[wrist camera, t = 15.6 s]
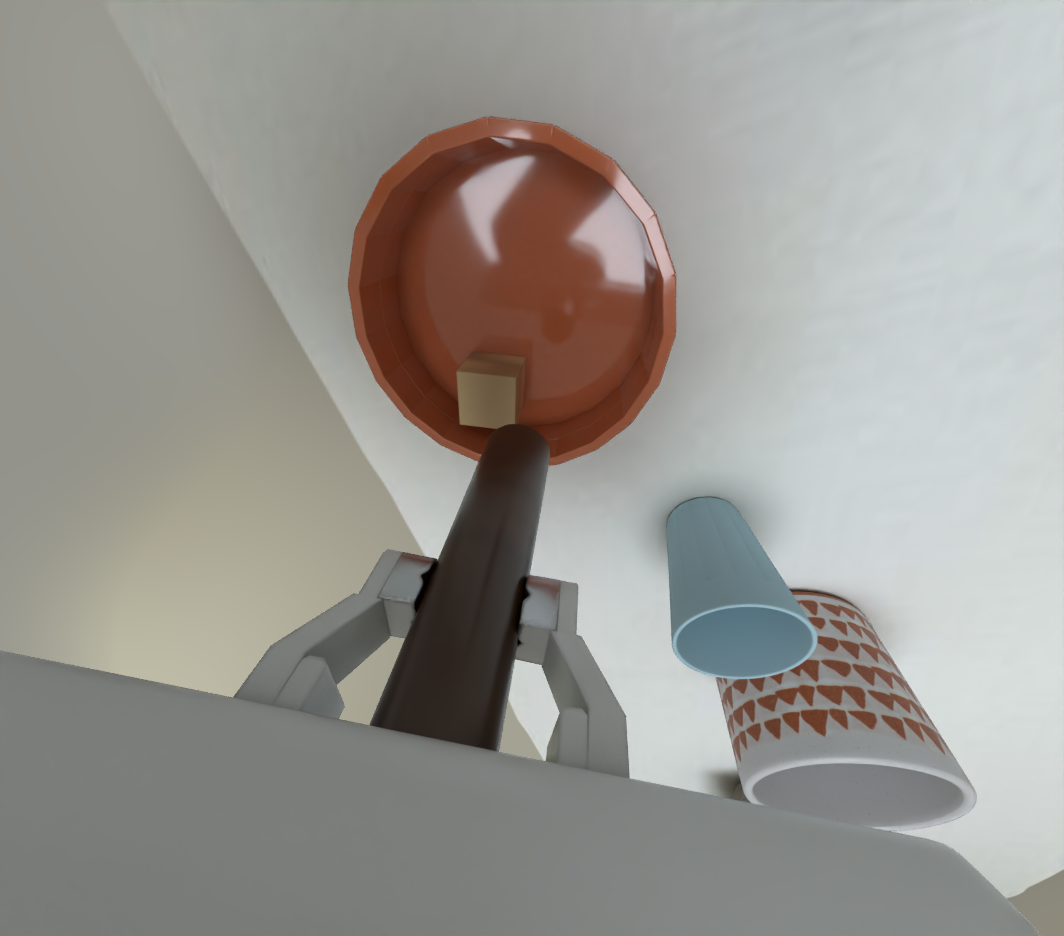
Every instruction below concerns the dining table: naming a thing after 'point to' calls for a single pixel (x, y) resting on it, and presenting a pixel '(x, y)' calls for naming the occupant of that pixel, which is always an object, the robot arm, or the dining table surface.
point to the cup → (730, 597)
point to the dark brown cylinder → (473, 603)
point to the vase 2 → (843, 733)
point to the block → (491, 389)
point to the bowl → (514, 282)
